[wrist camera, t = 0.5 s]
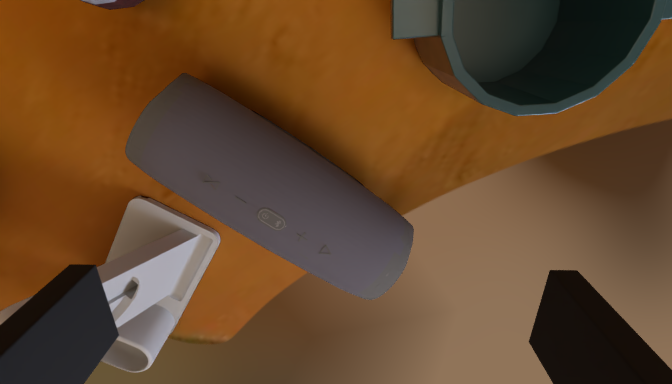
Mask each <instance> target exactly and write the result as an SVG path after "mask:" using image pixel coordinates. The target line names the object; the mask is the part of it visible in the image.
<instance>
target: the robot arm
mask: <svg viewBox="0 0 672 384" xmlns="http://www.w3.org/2000/svg"><path fill="white" fill-rule="evenodd" d="M118 336H119V333H118V330H117V327H116V324H115V321H114V318H113V315H112V312H111V309H110V306H109V303H108V300H107V297H106V294H105V291H104V288H103V285H102V282H101V279H100V276H99V273H98V270H97V267H96V265H69V266H68V267H67V268H65V269H64V270H63V271H62V272H61V273H60V274H59V275H57V276H56V277H55V278H54V279H53V280H52V281H50V282H49V283H48V284H47V285H46V286H45V287H43V288H42V289H41V290H40V291H39V292H38V293H37V294H35V295H34V296H33V297H32V298H31V299H30V300H28V301H27V302H26V303H25V304H24V305H23V306H22V307H20V308H19V309H18V310H17V311H16V312H15V313H13V314H12V315H11V316H10V317H9V318H8V319H7V320H5V321H4V322H3V323H2V324H1V325H0V384H84V383H85V381H86V380H87V379H88V377H89V376H90V374H91V373H92V372H93V370H94V369H95V368H96V366H97V365H98V363H99V362H100V361H101V360H102V358H103V357H104V355H105V354H106V353H107V351H108V350H109V349H110V347H111V346H112V344H113V343H114V342H115V340H116V339H117V338H118ZM529 343H530V345H531V346H532V348H533V350H534V351H535V353H536V355H537V357H538V358H539V360H540V362H541V363H542V365H543V367H544V368H545V370H546V372H547V374H548V375H549V377H550V379H551V381H552V382H553V384H672V370H671V369H670V368H669V367H668V366H667V365H666V363H665V362H664V361H663V360H662V359H661V358H660V357H659V356H658V355H657V354H656V353H655V352H654V351H653V350H652V349H651V348H650V347H649V346H648V345H647V343H646V342H645V341H644V340H643V339H642V338H641V337H640V336H639V335H638V334H637V333H636V332H635V331H634V330H633V329H632V328H631V327H630V326H629V324H628V323H627V322H626V321H625V320H624V319H623V318H622V317H621V316H620V315H619V314H618V313H617V312H616V311H615V310H614V309H613V308H612V307H611V306H610V305H609V303H608V302H606V300H605V299H604V298H603V297H602V296H601V295H600V294H599V293H598V292H597V291H596V290H595V289H594V288H593V287H592V286H591V284H590V283H589V282H588V281H587V280H586V279H585V278H584V277H583V276H582V275H581V274H580V273H579V272H578V271H574V270H550V272H549V275H548V279H547V282H546V286H545V289H544V292H543V295H542V299H541V303H540V306H539V309H538V312H537V316H536V319H535V323H534V326H533V330H532V333H531V337H530V340H529Z"/></svg>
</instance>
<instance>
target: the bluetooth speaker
mask: <svg viewBox="0 0 672 384" xmlns="http://www.w3.org/2000/svg"><path fill="white" fill-rule="evenodd" d="M125 153H126V155H127V157H128V159H129V160H130V161H131V162H132V163H134V164H135V165H136V166H138V167H139V168H140V169H141V170H142V171H144V172H145V173H147V174H148V175H149V176H151V177H152V178H154V179H155V180H156V181H158V182H159V183H161V184H162V185H164V186H165V187H167V188H169V189H170V190H172V191H173V192H175V193H176V194H178V195H179V196H181V197H182V198H184V199H186V200H187V201H189V202H190V203H192V204H193V205H195V206H197V207H198V208H200V209H201V210H203V211H205V212H206V213H208V214H209V215H211V216H213V217H214V218H216V219H217V220H219V221H221V222H222V223H224V224H225V225H227V226H229V227H230V228H232V229H234V230H236V231H237V232H239V233H241V234H242V235H244V236H246V237H247V238H249V239H251V240H252V241H254V242H256V243H257V244H259V245H261V246H262V247H264V248H266V249H268V250H270V251H271V252H273V253H275V254H277V255H278V256H280V257H282V258H284V259H286V260H287V261H289V262H291V263H293V264H295V265H297V266H298V267H300V268H302V269H304V270H306V271H308V272H310V273H311V274H313V275H315V276H317V277H319V278H321V279H323V280H325V281H326V282H328V283H330V284H332V285H334V286H336V287H338V288H340V289H342V290H344V291H346V292H349V293H351V294H353V295H356V296H359V297H361V298H364V299H369V300H372V299H376V298H378V297H380V296H381V295H383V294H384V293H385V292H386V291H387V290H389V288H390V287H392V285H393V284H394V283H395V282H396V281H397V279H398V278H399V276H400V275H401V274H402V272H403V270H404V268H405V266H406V264H407V261H408V257H409V254H410V250H411V247H412V242H413V232H414V229H413V226H412V225H411V224H410V223H409V222H408V221H407V220H406V219H405V218H404V217H402V216H401V215H400V214H399V213H398V212H397V211H395V210H394V209H393V208H392V207H390V206H389V205H388V204H387V203H385V202H384V201H383V200H381V199H380V198H378V197H377V196H376V195H374V194H373V193H372V192H370V191H369V190H368V189H366V188H365V187H364V186H363V185H362V184H361V183H360V182H358V181H357V180H356V179H355V178H353V177H352V176H350V175H349V174H348V173H346V172H345V171H343V170H342V169H341V168H339V167H338V166H336V165H335V164H333V163H332V162H331V161H329V160H328V159H326V158H325V157H324V156H322V155H321V154H319V153H318V152H317V151H315V150H314V149H312V148H311V147H309V146H308V145H306V144H305V143H303V142H302V141H300V140H298V139H297V138H295V137H294V136H292V135H291V134H289V133H288V132H286V131H285V130H283V129H282V128H280V127H279V126H277V125H275V124H274V123H272V122H271V121H269V120H268V119H266V118H264V117H263V116H261V115H259V114H258V113H256V112H254V111H252V110H249V109H248V108H246V107H245V106H243V105H241V104H240V103H238V102H237V101H235V100H233V99H232V98H230V97H229V96H227V95H225V94H224V93H222V92H220V91H219V90H217V89H215V88H213V87H212V86H210V85H208V84H206V83H204V82H202V81H200V80H199V79H197V78H195V77H193V76H191V75H189V74H187V73H182V74H181V75H180V76H179V77H178V78H176V79H175V80H174V81H173V82H171V83H170V84H169V85H168V86H167V87H166V88H165V89H164V90H163V91H162V92H161V93H160V94H158V95H157V96H156V97H155V98H154V99H153V100H152V101H150V102H149V104H148V105H147V106H146V108H145V109H144V110H143V112H142V113H141V115H140V117H139V118H138V120H137V122H136V123H135V125H134V127H133V129H132V131H131V133H130V136H129V138H128V141H127V144H126V150H125Z"/></svg>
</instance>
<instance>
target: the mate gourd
mask: <svg viewBox="0 0 672 384" xmlns="http://www.w3.org/2000/svg"><path fill="white" fill-rule="evenodd" d="M81 1H83V2H86V3H89V4H92V5H95V6H99V7H102V8H106V9H110V10H111V9H119V8H127V7H134V6H136V5H138V4H139V3H141V2H142V1H144V0H81Z"/></svg>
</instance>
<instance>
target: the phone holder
mask: <svg viewBox="0 0 672 384" xmlns="http://www.w3.org/2000/svg"><path fill="white" fill-rule="evenodd" d="M219 244H220V236H219V234H218V233H217V231H215V230H214V229H212V228H210V227H208V226H206V225H204V224H202V223H200V222H198V221H196V220H194V219H192V218H190V217H188V216H186V215H184V214H182V213H180V212H178V211H176V210H174V209H171V208H169V207H167V206H165V205H163V204H161V203H159V202H157V201H155V200H153V199H151V198H148V199H146V198H143V197H141V196H137V197H135V198H134V199H132V200H131V201H130V202H129V203H128V206H127V208H126V211H125V213H124V216H123V218H122V221H121V224H120V226H119V229H118V231H117V234H116V236H115V239H114V242H113V244H112V247H111V249H110V252H109V255H108V257H107V260H106V262H105V264H103V265H101V266H98V267H97V270H98V273H99V276H100V279H101V282H102V285H103V288H104V291H105V294H106V297H107V300H108V303H109V306H110V309H111V312H112V315H113V318H114V321H115V324H116V327H117V330H118V333H119V336H118V338H117V339H116V340H115V342H114V343H113V344H112V346H111V347H110V349H109V350H108V351H107V353H106V354H105V355H104V357H103V358H102V360H101V361H102V362H105V363H107V364H110V365H112V366H115V367H118V368H120V369H122V370H125V371H128V372H142V371H145V370H147V369H148V368H149V367H150V366H151V365H152V363H153V361H154V360H155V358H156V356H157V355H158V353H159V351H160V349H161V348H162V346H163V344H164V342H165V341H166V339H167V337H168V336H169V335H170V334H171V333H172V331H173V330H174V328H175V326H176V324H177V322H178V320H179V319H180V317H181V315H182V313H183V311H184V309H185V307H186V305H187V304H188V302H189V300H190V298H191V296H192V294H193V292H194V290H195V289H196V287H197V285H198V283H199V281H200V279H201V277H202V276H203V274H204V272H205V270H206V268H207V266H208V264H209V262H210V261H211V259H212V257H213V255H214V253H215V251H216V249H217V247H218V246H219ZM32 297H33V296H31V297H29V298H27V299H25V300H22V301H20V302H18V303H16V304H13V305H11V306H9V307H7V308H5V309H4V310H2V311H0V325H1V324H2V323H3V322H4V321H5V320H7V319H8V318H9V317H10V316H11V315H12V314H13V313H15V312H16V311H17V310H18V309H19V308H20V307H22V306H23V305H24V304H25V303H26V302H27V301H28V300H30V299H31V298H32Z"/></svg>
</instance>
